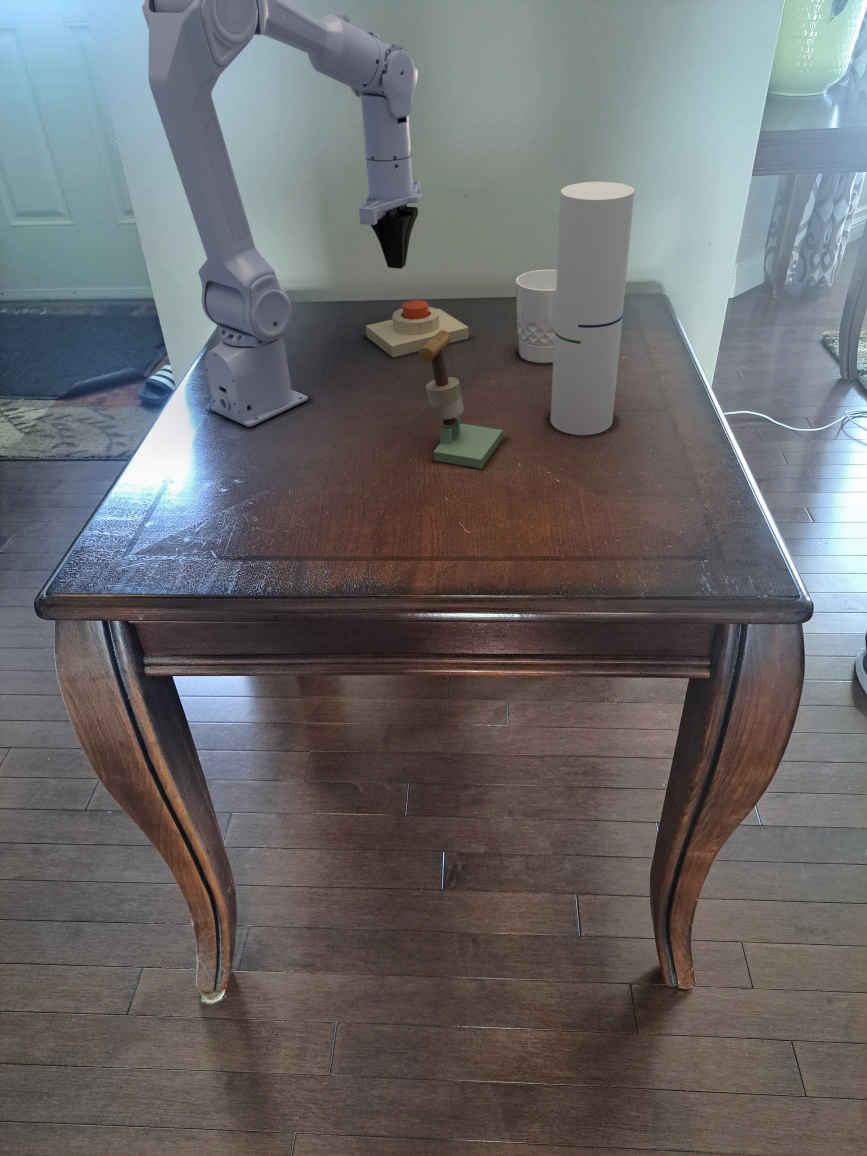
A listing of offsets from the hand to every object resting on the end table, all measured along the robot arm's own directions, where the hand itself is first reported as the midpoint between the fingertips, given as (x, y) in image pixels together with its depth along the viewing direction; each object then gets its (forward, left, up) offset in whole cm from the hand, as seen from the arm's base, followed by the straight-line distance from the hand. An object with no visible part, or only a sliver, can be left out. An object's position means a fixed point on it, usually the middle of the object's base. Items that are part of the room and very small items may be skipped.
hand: (396, 266), depth 112 cm
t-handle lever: (-20, -24, -3) cm, 31 cm away
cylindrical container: (-5, -34, -11) cm, 36 cm away
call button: (+2, -1, -7) cm, 8 cm away
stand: (-18, -28, -10) cm, 35 cm away
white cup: (+8, -19, -10) cm, 23 cm away
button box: (+2, -1, -10) cm, 11 cm away
